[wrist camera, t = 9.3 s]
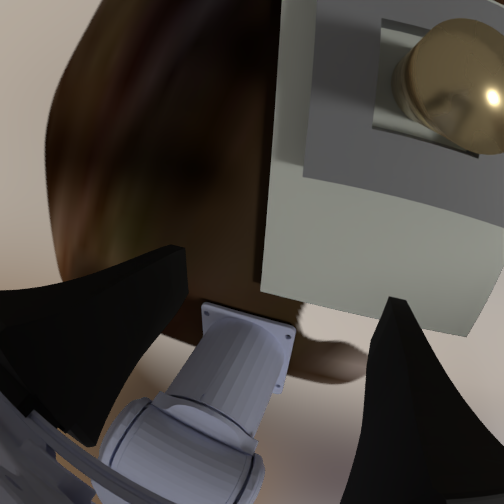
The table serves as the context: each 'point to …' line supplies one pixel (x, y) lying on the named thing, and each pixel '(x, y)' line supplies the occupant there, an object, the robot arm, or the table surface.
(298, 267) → the socket plate
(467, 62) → the brass rounded knob
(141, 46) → the table surface
